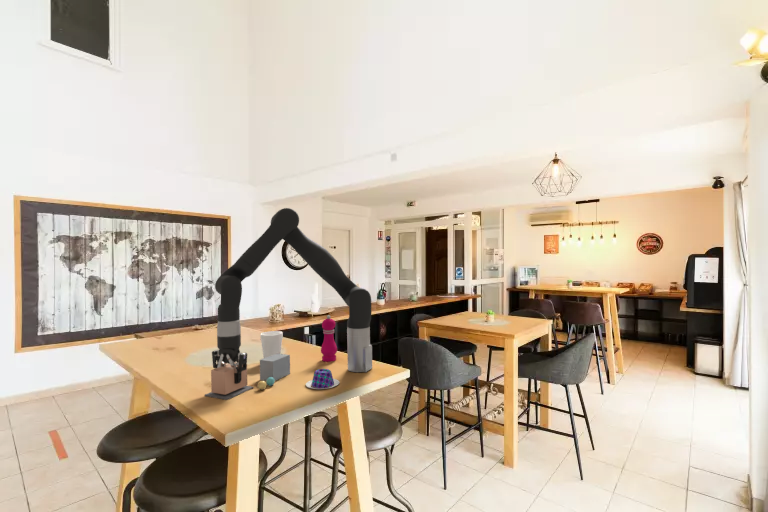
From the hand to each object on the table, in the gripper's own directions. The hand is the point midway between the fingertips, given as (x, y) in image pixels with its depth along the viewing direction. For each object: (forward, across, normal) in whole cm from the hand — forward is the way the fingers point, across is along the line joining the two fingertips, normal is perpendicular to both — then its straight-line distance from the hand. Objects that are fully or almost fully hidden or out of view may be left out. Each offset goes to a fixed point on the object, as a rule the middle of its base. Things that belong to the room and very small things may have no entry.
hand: (229, 381), depth 130 cm
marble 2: (+3, -9, -10) cm, 14 cm away
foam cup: (+4, +10, -34) cm, 36 cm away
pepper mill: (+4, -11, -47) cm, 48 cm away
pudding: (+4, -26, -18) cm, 32 cm away
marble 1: (+3, -9, -6) cm, 11 cm away
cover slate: (+3, -4, -19) cm, 20 cm away
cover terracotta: (+2, 0, 0) cm, 2 cm away
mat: (+3, 0, 0) cm, 3 cm away
